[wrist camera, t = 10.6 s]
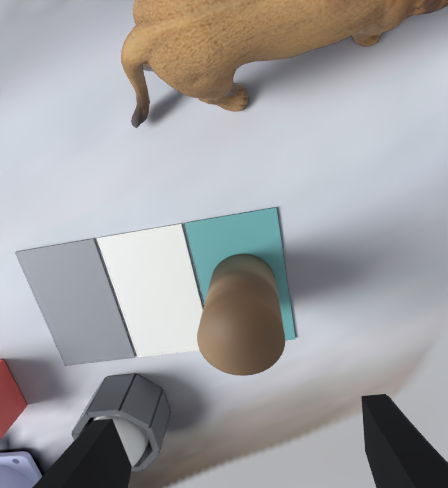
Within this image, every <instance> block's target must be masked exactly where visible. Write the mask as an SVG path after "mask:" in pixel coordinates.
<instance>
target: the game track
mask: <svg viewBox="0 0 448 488" xmlns="http://www.w3.org/2000/svg"><path fill="white" fill-rule="evenodd" d="M185 226H186V230H187V234H188V238H189V243H190V247H191V251H192V255H193V259H194V263H195V267H196V271H197V275H198V279H199V283H200V287H201V291H202V295H203V299H204V304H205V300H206V296H207V292H208V288H209V284H210V280H211V277H212V273H213V271H214V269H215V268H216V266H217V265H218V264H219V263H220V262H221V261H222V260H224V259H225V258H227V257H229V256H232V255H236V254H250V255H254V256H256V257H259V258H261V259H262V260H264V261H265V262H266V263H267V264H268V265H269V266H270V267H271V269H272V271H273V272H274V275H275V279H276V285H277V291H278V297H279V303H280V309H281V315H282V321H283V327H284V333H285V340H293V339H295V332H294V326H293V319H292V312H291V305H290V298H289V291H288V284H287V277H286V270H285V263H284V256H283V250H282V243H281V236H280V229H279V222H278V215H277V208H276V207H275V208H269V209H263V210H257V211H252V212H246V213H240V214H234V215H228V216H222V217H217V218H211V219H205V220H199V221H193V222H187V223H185ZM97 241H98V244H99V247H100V250H101V253H102V256H103V259H104V261H105V264H106V267H107V270H108V273H109V276H110V279H111V282H112V285H113V287H114V290H115V293H116V296H117V299H118V302H119V305H120V308H121V310H122V313H123V316H124V319H125V322H126V325H127V328H128V331H129V334H130V336H131V339H132V342H133V345H134V348H135V351H136V354H137V357H145V356H154V355H162V354H171V353H180V352H189V351H197V350H199V347H198V342H197V332H198V328H199V324H200V320H201V316H202V312H203V308H202V304H201V300H200V296H199V292H198V288H197V284H196V280H195V276H194V272H193V268H192V264H191V260H190V256H189V252H188V248H187V244H186V239H185V235H184V231H183V227H182V224H176V225H170V226H164V227H158V228H152V229H147V230H141V231H135V232H129V233H123V234H117V235H112V236H106V237H100V238H97ZM15 254H16V256H17V258H18V261H19V263H20V265H21V267H22V270H23V272H24V274H25V276H26V279H27V281H28V283H29V285H30V288H31V290H32V292H33V295H34V297H35V299H36V301H37V304H38V306H39V308H40V310H41V313H42V315H43V317H44V319H45V322H46V324H47V326H48V328H49V331H50V333H51V335H52V337H53V340H54V342H55V344H56V346H57V349H58V351H59V353H60V356H61V358H62V360H63V362H64V365H65V366H67V365H75V364H84V363H93V362H101V361H110V360H119V359H128V358H135V354H134V352H133V349H132V346H131V343H130V340H129V337H128V334H127V332H126V329H125V326H124V323H123V320H122V317H121V314H120V311H119V309H118V306H117V303H116V300H115V297H114V294H113V291H112V289H111V286H110V283H109V280H108V277H107V274H106V271H105V269H104V266H103V263H102V260H101V257H100V254H99V251H98V249H97V246H96V243H95V240H94V239H88V240H82V241H76V242H71V243H65V244H59V245H53V246H47V247H41V248H36V249H30V250H24V251H18V252H15Z"/></svg>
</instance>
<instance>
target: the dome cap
mask: <svg viewBox="0 0 448 488" xmlns="http://www.w3.org/2000/svg"><path fill="white" fill-rule="evenodd" d="M102 419H113V421H114V424H115V426H116V429H117V431H118V434H119V436H120V439H121V441H122V443H123V446H124V448H125V451H126V453H127V456H128V458H129V461H130V463H131V465H132V467H133V466H134V465H135V464H136V463H137V462H138V461H139V460H140V458H141V457H142V455H143V453H144V451H145V448H146V446H147V442H148V436H147V433H146V431H145V429H143V428H142V427H140V426H138V425H136V424H134V423H132V422H131V421H129V420H127V419H125V418H123V417H121V416H119V415H114V416H102V417H94V419H93V420H102Z"/></svg>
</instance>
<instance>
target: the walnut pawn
mask: <svg viewBox="0 0 448 488" xmlns="http://www.w3.org/2000/svg"><path fill="white" fill-rule="evenodd" d="M197 342H198V347H199V350H200V352H201V354H202V355H203V357H204V358H205V359H206V360H207V361H208V362H209V363H210V364H211V365H212V366H214V367H215V368H217V369H219V370H220V371H223V372H225V373H229V374H233V375H242V376H243V375H253V374H257V373H260V372H263V371H265V370H267V369H268V368H270V367H271V366H273V365H274V364H275V363H276V362H277V361H278V359H279V358H280V356H281V355H282V353H283V350H284V346H285V333H284V327H283V321H282V315H281V309H280V303H279V297H278V291H277V285H276V279H275V275H274V272H273V271H272V269H271V267H270V266H269V265H268V264H267V263H266V262H265V261H264V260H262V259H261V258H259V257H256V256H254V255H250V254H236V255H232V256H229V257H227V258H225V259H224V260H222V261H221V262H220V263H219V264H218V265H217V266H216V268H215V269H214V271H213V273H212V277H211V280H210V284H209V288H208V292H207V296H206V300H205V304H204V308H203V312H202V316H201V320H200V324H199V328H198V332H197Z"/></svg>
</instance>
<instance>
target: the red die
mask: <svg viewBox="0 0 448 488" xmlns="http://www.w3.org/2000/svg"><path fill="white" fill-rule="evenodd" d="M26 406H27V403H26V401H25V399H24V398H23V396H22V394H21V392H20V390H19V388H18V386H17V384H16V382H15V380H14V378H13V376H12V374H11V372H10V370H9V368H8V367H7V365H6V363H5V361H4V359H0V439H1V438H2V437H3V436H4V434H5V433H6V432H7V430H8V429H9V428H10V427H11V425H12V424H13V423H14V422H15V420H16V419H17V418H18V417H19V415H20V414H21V413H22V412H23V410H24V409H25V408H26Z"/></svg>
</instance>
